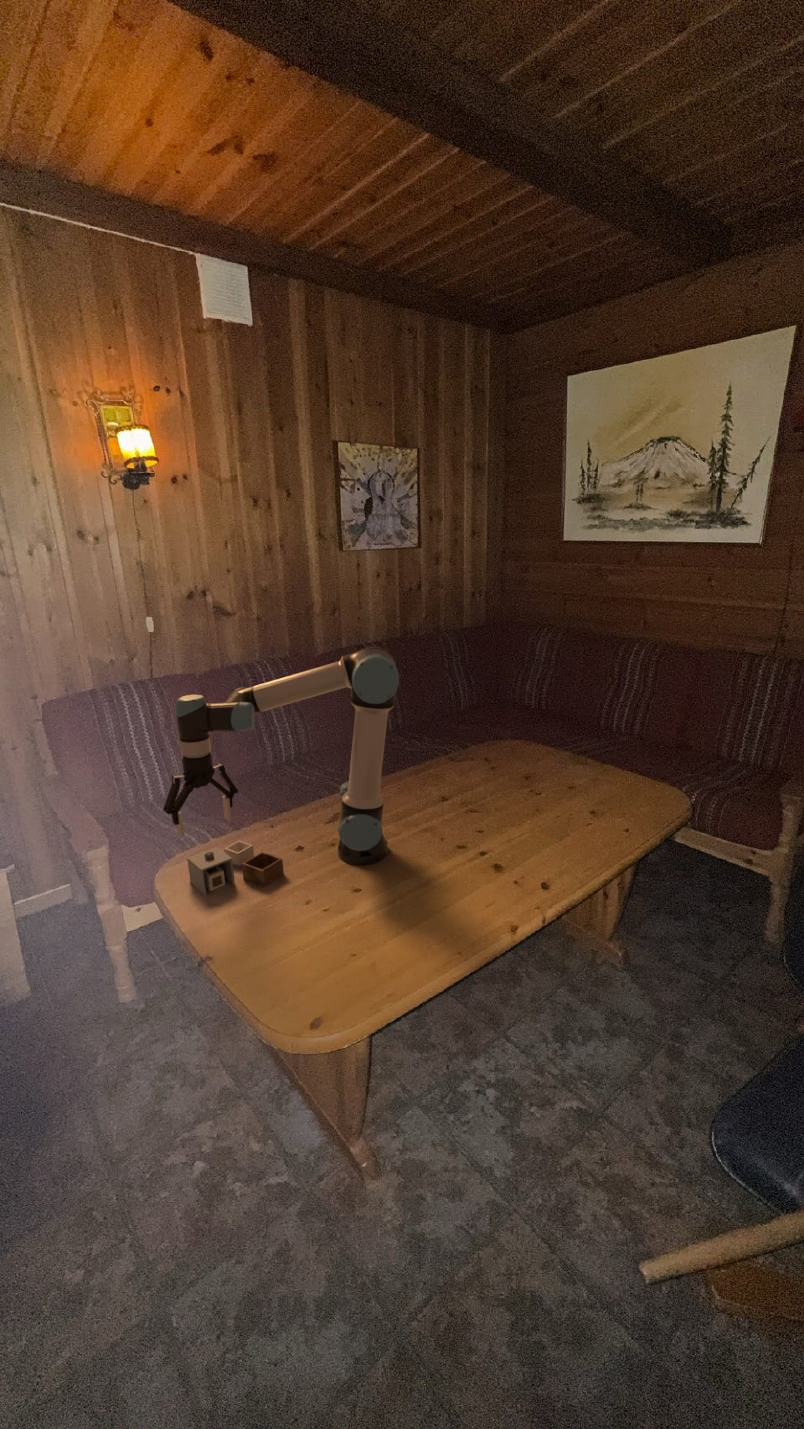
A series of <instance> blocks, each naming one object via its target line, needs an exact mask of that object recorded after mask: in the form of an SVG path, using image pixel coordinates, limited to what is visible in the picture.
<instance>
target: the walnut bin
mask: <svg viewBox="0 0 804 1429" xmlns="http://www.w3.org/2000/svg"><path fill="white" fill-rule="evenodd" d="M241 868H242V870H241V871H242V876H243V878H242V879H243V881H247V882H250V883H252V884H254V885H257V886H260V887H262V888H264V887H267V886H269V884H270V883H273V882H274V881H275V880H278V878H280V877H282V876H283V875H284V874H285V873H284V861H283V858H282V857H279V856H276V855H273V854H270V853H267V852H264V851H261V852H259V853H257V854H256V855H254V857H252V858H251V859H249V860H247V861H245V862H244V863H242V866H241Z"/></svg>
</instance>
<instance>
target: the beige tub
mask: <svg viewBox="0 0 804 1429" xmlns="http://www.w3.org/2000/svg"><path fill="white" fill-rule="evenodd" d="M254 850H255V849H254V844H252V843H248V842H245V841H243V840H237V841H235V842H233V843H231V844H230V845H228V846H226V847H224V848H223V852H225V853H226V854H227V855H229V856H230V857H231V858H232V863H233V867H237V868H242V863H244V862H245V861H247V860H249V859H251V858H252V857H254V856H255V851H254Z"/></svg>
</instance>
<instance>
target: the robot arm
mask: <svg viewBox="0 0 804 1429" xmlns="http://www.w3.org/2000/svg"><path fill="white" fill-rule="evenodd" d="M399 684H400V674H399V669H398V667H397V663H396V660H395V658H394V657H393V655H392V654H391V653H390V652H389V651H388V650H387V649H385V648H382V647H379V646H370V647H366V648H362V649H360V650H358V651H355V652H351V653H350V654H349V653H348V654H346V655H342V656H341V658H340V660H339V661H335V662H332V663H329V664H328V663H327V664H325V665H322V666H321V665H320V666H319V667H315V668H311V669H308V670H305V671H300V672H298V673H293V674H290V675H288V676H285V677H281V678H277V679H274V680H270V681H267V682H264V683H259V684H257V685H253V686H251V687H243V686H242V687H238V688H236V689H234V690H233V691H232V692H231V693H230V694H229V695H228V697H227V698H226V700H225V701H224V702H216V703H212V702H211V703H210V702H207V700H206V697H205V696H204V695H202V694H187V695H184V696H180V697H178V698H177V700H176V702H175V709H176V711H175V712H176V715H175V717H176V722H177V723H176V724H177V728H178V735H179V736H178V737H179V745H180V751H181V752H180V754H181V761H182V769H183V773H182V775H176V774H174V775H172V776H171V785H170V789H169V792H168V794H167V797H166V800H165V803H164V805H163V808H162V811H164V812H165V814H168V815H171V820H172V823H173V825H175V826H176V831H177V834H178V835H179V836H180V837H183V836H185V831H184V822H183V814H182V812H181V811H180V810H182V807H183V806H184V804H185V803H186V801H187V799H188V798H189V796H190V794H191V793H192V792H193V791H194V789H197V790H198V789H199V788H201V787H206V786H208V784H211V785H212V786H213V787H215V788H216V789H217V790H219V791H220V792H221V793H222V794H223V795H222V797H221V798H222V799H221V800H222V807H223V808H222V809H223V815H224V816H223V817H224V819H225V820H227V821H232V815H231V812H232V811H231V808H233V807H234V804H233V803H234V802H233V798H234V797H235V794H238V793H239V789H238V788H237V787H236V785H235V783H234V782H233V781H232V779H231V778H230V776H229V775H228V773H227V771H226V769H225V765H222V764H221V763H217V764H216V765H215V766H213V756H212V752H211V751H212V747H211V746H212V745H211V738H210V737H211V736H210V733H219V732H220V733H221V732H222V733H223V732H227V733H228V732H245V731H247V732H248V731H251V730H253V729H254V727H255V722H256V714H259V713H262V712H265V711H269V710H272V709H276V708H280V707H283V706H286V705H289V704H293V703H296V702H300V701H304V700H307V699H310V698H314V697H317V696H321V695H324V694H328V693H330V692H335V691H339V690H342V689H344V688H349V689H350V690H351V692H350V704H351V705H352V706H353V707H354V709H355V711H354V713H355V714H354V724H353V733H352V734H353V735H352V744H351V754H350V765H349V777H348V781H346V782H343V784H341V786H340V792H339V795H340V813H339V823H338V824H339V825H338V829H337V830H338V836H339V842H338V846H337V855H338V858H339V860H341V861H342V862H344V863H346V864H350V865H355V866H363V865H364V866H366V865H372V864H375V863H377V862H381V861H382V860H384V859H385V858H386V856H387V854H388V852H389V851H388V850H389V849H388V843H387V842H388V841H387V840H386V839H385V835H384V833H383V830H384V829H383V825H382V822H383V814H384V804H385V800H384V798H383V796H382V795H381V794H380V792H381V790H380V789H381V781H382V773H383V772H382V771H383V762H384V754H385V753H384V752H385V743H386V734H387V725H388V716H389V715H388V714H389V711H391V710H392V709H393V708H395V704H396V694H397V690H398V687H399ZM215 772H216V773H217V774H218V776H220V777H221V779H222V780H223V782H224V783H225V785H226V786H227V788H228V789H227V788H226V787H224V786H223V785H221V784H220V783H219V782H218V781H217V780H215V779H214V778H213V777H214V774H215ZM183 781H185V782H184V783H183ZM182 784H183V786H182V788H181V785H182ZM180 788H181V791H180ZM179 791H180V793H179Z"/></svg>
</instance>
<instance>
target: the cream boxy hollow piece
mask: <svg viewBox="0 0 804 1429" xmlns="http://www.w3.org/2000/svg"><path fill="white" fill-rule="evenodd" d="M203 874H204V881H205V889H206V888H207V890H209V892H211V891H213V890H216V889H219V888H221V887H224V886H225V885H226V880H225V877H224V871H223V870H222V869H221V868H220V867H218V866H214V867H212V868H209V869H206V870H204V871H203Z"/></svg>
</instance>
